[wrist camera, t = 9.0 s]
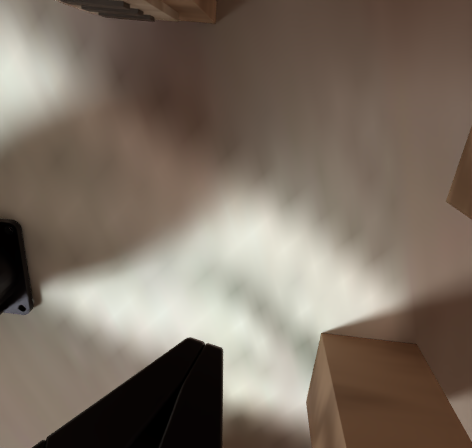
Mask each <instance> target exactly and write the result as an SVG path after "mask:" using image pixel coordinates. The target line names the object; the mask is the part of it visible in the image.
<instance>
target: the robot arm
mask: <svg viewBox="0 0 472 448" xmlns="http://www.w3.org/2000/svg"><path fill="white" fill-rule="evenodd" d="M9 227H11V228H12V229H13V231H11V230H10V228H9ZM23 306H24V307H23ZM32 309H33V301H32V294H31V288H30V281H29V275H28V268H27V262H26V255H25V249H24V242H23V236H22V229H21V226H20V225H19V223H18V222H16V221H14V220H8V219H0V314H1V313H3V312H4V313H13V314H21V315H26V314H28V313H29V312H30V311H31V310H32ZM222 424H223V349H222V348H221V347H218V346H215V345H212V344H209V343H207V344H206V345H205V343H204V342H203V341H200V340H197V339H194V338H191V337H189V338H186V339H185V340H183V341H182V342H181V343H179V344H178V345H176V346H175V347H174V348H172V349H171V350H169V351H168V352H167V353H165V354H164V355H162V356H161V357H159V358H158V359H157V360H155V361H154V362H152V363H151V364H150V365H148V366H147V367H145V368H144V369H143V370H141V371H140V372H138V373H137V374H136V375H134V376H133V377H131V378H130V379H128V380H127V381H126V382H124V383H123V384H121V385H120V386H119V387H117V388H116V389H114V390H113V391H112V392H110V393H109V394H107V395H106V396H104V397H103V398H102V399H100V400H99V401H97V402H96V403H95V404H93V405H92V406H90V407H89V408H88V409H86V410H85V411H83V412H82V413H80V414H79V415H78V416H76V417H75V418H73V419H72V420H71V421H69V422H68V423H66V424H65V425H64V426H62V427H61V428H59V429H58V430H56V431H55V432H54V433H52V434H51V435H49V436H48V437H47V439H46V441H45V440H42V441H41V442H39V443H38V444H36V445H35V446H34V447H32V448H222Z"/></svg>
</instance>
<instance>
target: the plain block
mask: <svg viewBox="0 0 472 448" xmlns="http://www.w3.org/2000/svg"><path fill="white" fill-rule="evenodd" d="M446 202H447V203H449V204H450V205H452V206H453V207H455V208H456V209H458V210H459V211H460V212H462V213H463V214H465V215H466V216H468V217H469V218H470V219H472V127H471V130H470V133H469V136H468V139H467V142H466V145H465V148H464V150H463V153H462V156H461V159H460V162H459V165H458V168H457V171H456V174H455V177H454V180H453V183H452V185H451V188H450V191H449V194H448V197H447V200H446Z"/></svg>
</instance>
